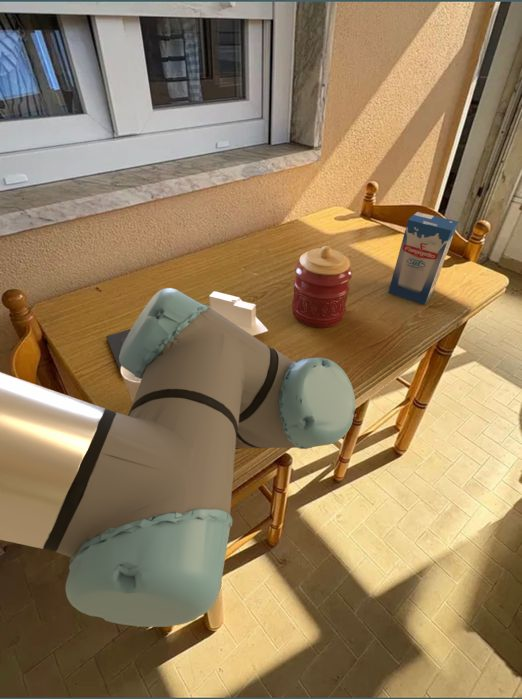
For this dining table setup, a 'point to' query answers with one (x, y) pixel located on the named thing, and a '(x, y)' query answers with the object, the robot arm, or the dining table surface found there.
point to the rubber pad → (117, 344)
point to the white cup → (130, 382)
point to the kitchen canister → (321, 287)
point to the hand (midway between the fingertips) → (167, 427)
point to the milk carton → (421, 256)
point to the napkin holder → (237, 312)
